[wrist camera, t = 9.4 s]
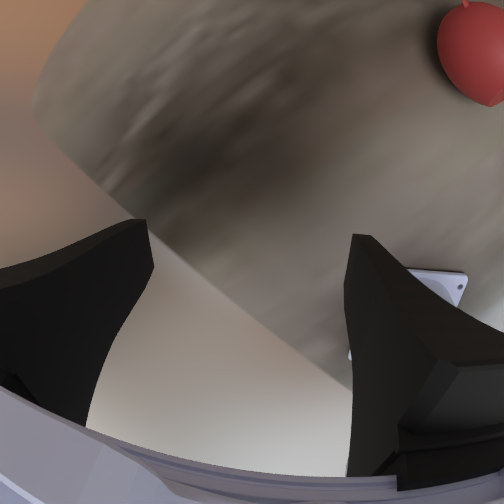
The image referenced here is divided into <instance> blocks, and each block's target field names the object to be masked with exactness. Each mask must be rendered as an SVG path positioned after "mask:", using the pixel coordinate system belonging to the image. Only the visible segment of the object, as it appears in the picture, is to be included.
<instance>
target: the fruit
mask: <svg viewBox="0 0 504 504" xmlns="http://www.w3.org/2000/svg"><path fill="white" fill-rule="evenodd" d="M461 1H462V4H460V5H458V6H456V7H454V8H453V9H451V10H450V11H449V12H448V13H447V14H446V15H445V16H444V18H443V19H442V21H441V23H440V26H439V29H438V34H437V50H438V55H439V58H440V62H441V64H442V66H443V69H444V71H445V72H446V74H447V76H448V77H449V79H450V80H451V81H452V83H453V84H454V85H455V86H456V87H457V88H458V89H459V90H460V91H461V92H462V93H463V94H464V95H466V96H467V97H468V98H470V99H472V100H473V101H475V102H477V103H479V104H482V105H485V106H488V107H492V106H494V105H496V104H498V103H500V102H502V101H503V100H504V10H503V9H501V8H499V7H497V6H494V5H492V4H488V3H484V2H468V1H467V0H461Z"/></svg>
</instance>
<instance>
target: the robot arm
mask: <svg viewBox="0 0 504 504" xmlns="http://www.w3.org/2000/svg"><path fill="white" fill-rule="evenodd" d="M153 269H154V263H153V258H152V252H151V247H150V242H149V236H148V230H147V224H146V220H145V219H130V220H126V221H123V222H120V223H117V224H115V225H113V226H110V227H108V228H106V229H104V230H101V231H99V232H97V233H95V234H93V235H91V236H89V237H86V238H84V239H82V240H80V241H78V242H75V243H73V244H71V245H69V246H67V247H64V248H62V249H60V250H57V251H55V252H52V253H50V254H47V255H44V256H42V257H39V258H36V259H33V260H30V261H27V262H23V263H20V264H17V265H13V266H10V267H6V268H1V269H0V504H504V333H503V332H501V331H499V330H496V329H494V328H492V327H490V326H488V325H486V324H485V323H483V322H481V321H479V320H477V319H475V318H473V317H472V316H470V315H468V314H466V313H465V312H463V311H462V310H460V309H458V308H457V305H458V303H459V301H460V299H461V296H462V294H463V291H464V289H465V287H466V284H467V282H468V277H467V276H466V274H464V273H453V272H440V271H426V270H413V269H406V268H405V267H404V266H403V265H402V264H401V263H399V262H398V261H397V260H396V259H395V258H394V257H393V256H392V255H391V254H390V253H389V252H388V251H387V250H386V249H385V248H384V247H383V246H382V245H381V244H380V243H379V242H378V241H377V240H376V239H375V238H373V237H372V236H371V235H363V234H353V235H352V241H351V247H350V253H349V259H348V264H347V270H346V275H345V280H344V310H345V317H346V324H347V330H348V337H349V344H350V350H349V353H348V358H349V360H352V370H353V404H352V426H351V439H350V450H349V457H348V461H347V465H346V471H345V477H309V476H293V475H280V474H270V473H262V472H254V471H246V470H240V469H233V468H227V467H221V466H216V465H211V464H206V463H201V462H196V461H192V460H187V459H183V458H179V457H175V456H171V455H167V454H163V453H160V452H156V451H153V450H149V449H145V448H143V447H139V446H136V445H133V444H130V443H127V442H124V441H120V440H118V439H115V438H112V437H109V436H106V435H103V434H101V433H99V432H96V431H94V430H91V429H88V428H86V427H85V426H86V421H87V417H88V412H89V407H90V404H91V400H92V397H93V394H94V390H95V387H96V384H97V381H98V378H99V375H100V372H101V370H102V367H103V364H104V362H105V359H106V357H107V355H108V352H109V350H110V348H111V345H112V343H113V341H114V339H115V337H116V335H117V333H118V332H119V330H120V328H121V327H122V325H123V323H124V322H125V320H126V318H127V317H128V315H129V314H130V312H131V310H132V309H133V307H134V306H135V304H136V302H137V301H138V299H139V297H140V296H141V294H142V293H143V291H144V289H145V287H146V285H147V283H148V281H149V279H150V276H151V274H152V271H153ZM460 284H461V285H460ZM459 285H460V286H459ZM458 286H459V287H458Z"/></svg>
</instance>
